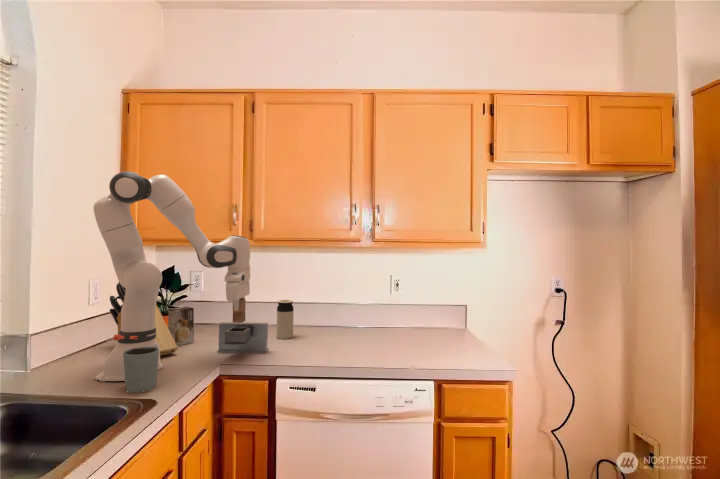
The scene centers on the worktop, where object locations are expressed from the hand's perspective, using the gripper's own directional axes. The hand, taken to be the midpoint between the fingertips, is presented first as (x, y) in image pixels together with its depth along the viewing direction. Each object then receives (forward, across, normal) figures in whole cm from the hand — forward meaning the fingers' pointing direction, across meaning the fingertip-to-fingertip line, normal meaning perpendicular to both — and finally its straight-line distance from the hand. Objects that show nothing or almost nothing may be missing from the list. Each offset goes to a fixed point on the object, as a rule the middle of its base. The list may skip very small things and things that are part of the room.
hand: (238, 309), depth 164 cm
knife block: (+19, -6, -43) cm, 48 cm away
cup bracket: (+19, -3, 0) cm, 20 cm away
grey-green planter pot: (+19, +36, -20) cm, 46 cm away
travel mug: (+20, -34, +13) cm, 41 cm away
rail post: (+5, 0, 0) cm, 5 cm away
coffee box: (+19, -20, -32) cm, 43 cm away
